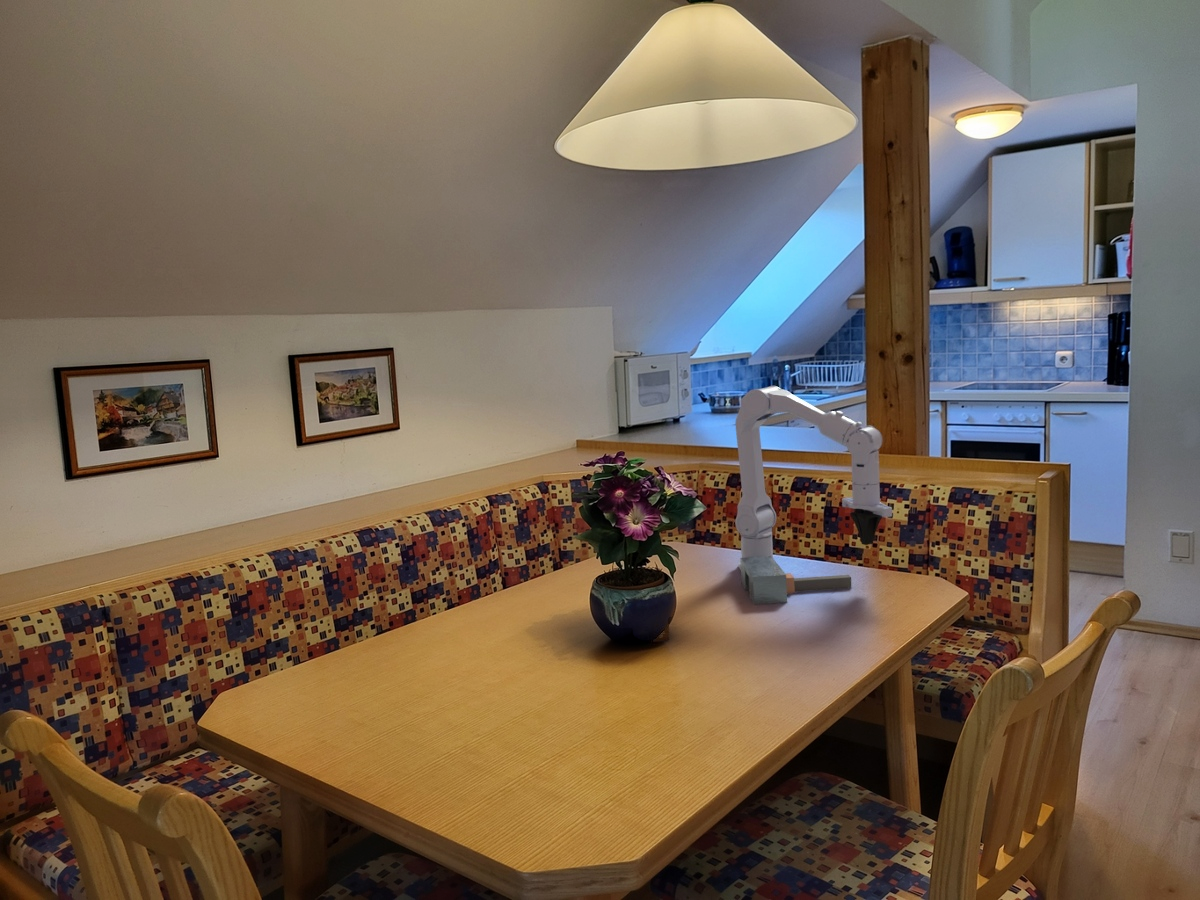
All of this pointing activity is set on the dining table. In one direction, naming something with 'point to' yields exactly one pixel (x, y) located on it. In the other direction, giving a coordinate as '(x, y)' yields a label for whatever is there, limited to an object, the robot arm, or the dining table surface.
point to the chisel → (817, 583)
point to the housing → (763, 580)
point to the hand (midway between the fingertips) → (867, 543)
